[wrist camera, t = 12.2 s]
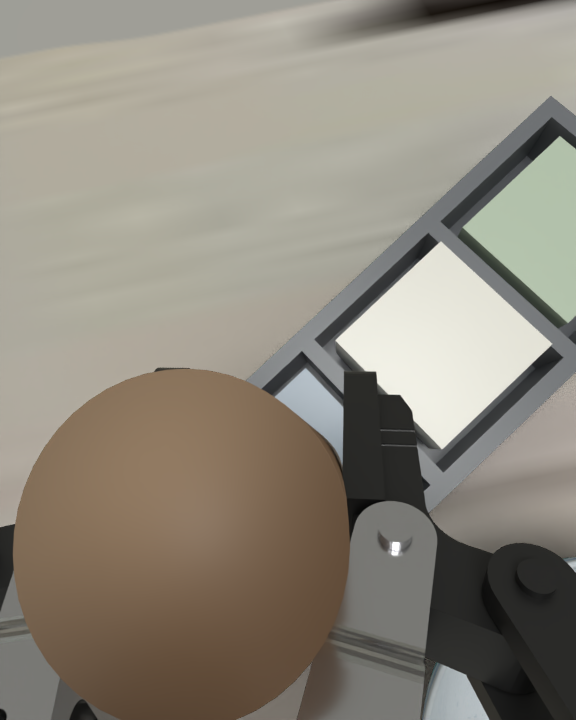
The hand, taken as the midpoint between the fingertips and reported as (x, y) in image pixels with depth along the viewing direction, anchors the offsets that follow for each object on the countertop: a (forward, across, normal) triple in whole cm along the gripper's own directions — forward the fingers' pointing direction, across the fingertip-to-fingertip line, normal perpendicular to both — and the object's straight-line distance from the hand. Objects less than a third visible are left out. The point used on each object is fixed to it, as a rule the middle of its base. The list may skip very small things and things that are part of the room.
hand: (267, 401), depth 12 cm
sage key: (+18, -12, +5) cm, 22 cm away
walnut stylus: (+2, 0, +5) cm, 6 cm away
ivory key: (+13, -6, +8) cm, 16 cm away
